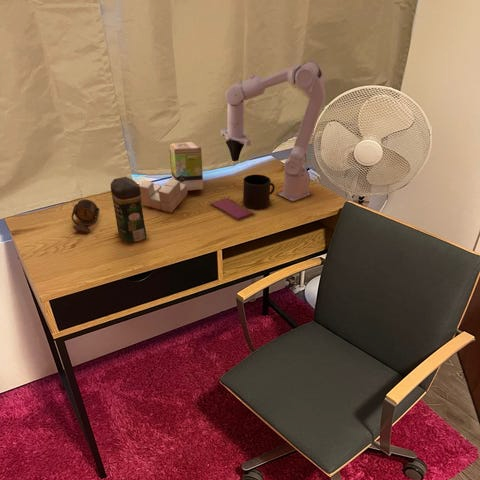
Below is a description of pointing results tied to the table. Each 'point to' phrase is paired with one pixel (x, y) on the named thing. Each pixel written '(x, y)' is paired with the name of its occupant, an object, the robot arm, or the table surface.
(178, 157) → the tea box
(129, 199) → the coffee jar
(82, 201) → the dark brown rounded piece
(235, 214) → the cloth
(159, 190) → the puzzle cube
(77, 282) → the table surface
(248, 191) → the mug
